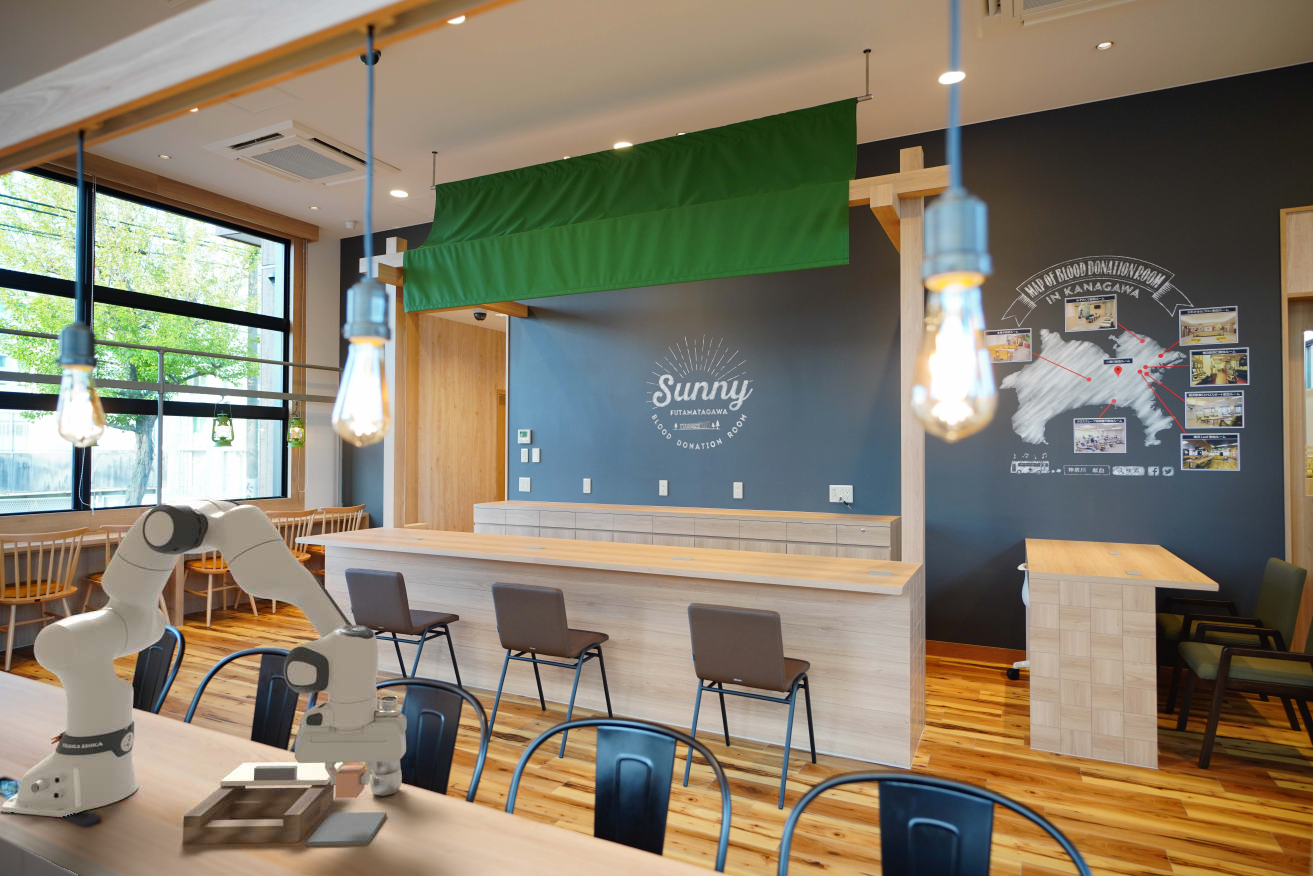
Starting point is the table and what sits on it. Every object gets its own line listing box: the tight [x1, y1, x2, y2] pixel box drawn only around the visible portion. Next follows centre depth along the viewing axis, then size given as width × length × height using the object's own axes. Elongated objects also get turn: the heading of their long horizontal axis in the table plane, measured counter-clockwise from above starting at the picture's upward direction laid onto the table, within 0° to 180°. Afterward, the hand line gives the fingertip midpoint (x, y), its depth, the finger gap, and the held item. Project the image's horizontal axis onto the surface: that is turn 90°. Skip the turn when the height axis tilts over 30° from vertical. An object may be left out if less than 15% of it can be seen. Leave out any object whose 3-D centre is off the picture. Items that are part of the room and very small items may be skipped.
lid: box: [219, 761, 345, 787], centre depth 147 cm, size 21×9×3 cm, turn 93°
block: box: [334, 764, 366, 799], centre depth 136 cm, size 4×4×4 cm
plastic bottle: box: [369, 695, 403, 797], centre depth 152 cm, size 6×7×20 cm
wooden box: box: [182, 781, 335, 845], centre depth 139 cm, size 21×16×5 cm
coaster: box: [306, 811, 388, 847], centre depth 136 cm, size 11×11×1 cm
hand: (350, 783), depth 136 cm, fingers closed on block, 4 cm apart
